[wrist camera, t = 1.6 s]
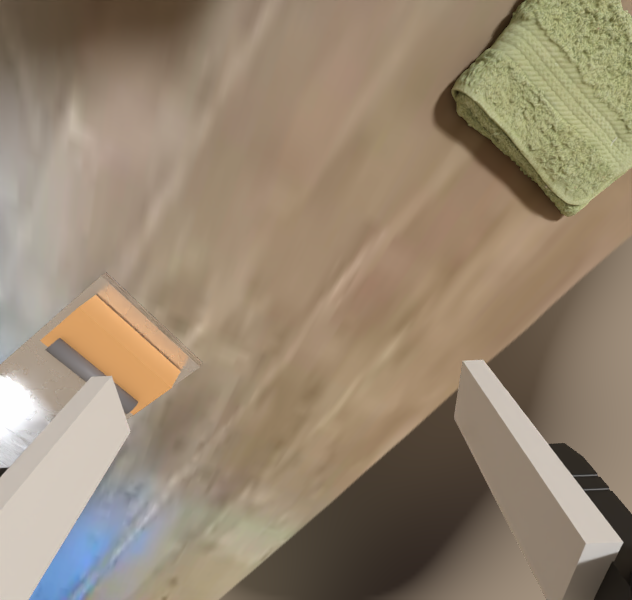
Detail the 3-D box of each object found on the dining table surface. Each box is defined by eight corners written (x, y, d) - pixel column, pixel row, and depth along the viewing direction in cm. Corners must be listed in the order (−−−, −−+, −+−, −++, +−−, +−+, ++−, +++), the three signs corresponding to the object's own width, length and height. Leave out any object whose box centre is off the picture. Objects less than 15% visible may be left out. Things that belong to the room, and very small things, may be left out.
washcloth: (561, 221, 36) (583, 228, 34) (437, 100, 32) (450, 95, 29) (681, 103, 32) (718, 100, 29) (558, -55, 28) (588, -78, 25)
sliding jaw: (59, 326, 39) (28, 349, 34) (95, 294, 37) (68, 314, 33) (144, 397, 43) (126, 425, 38) (180, 371, 41) (165, 397, 37)
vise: (-44, 404, 44) (-95, 442, 39) (106, 272, 38) (71, 295, 32) (53, 469, 49) (20, 511, 43) (202, 362, 42) (186, 395, 37)
